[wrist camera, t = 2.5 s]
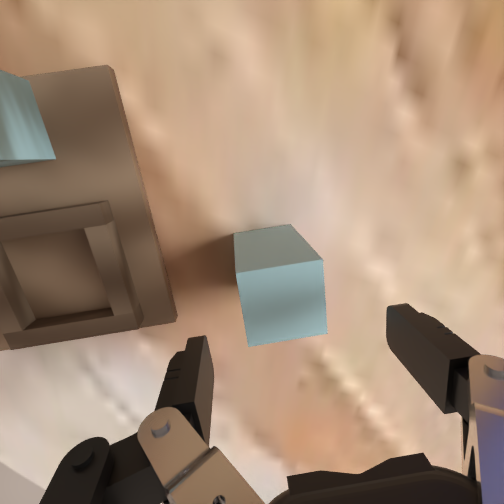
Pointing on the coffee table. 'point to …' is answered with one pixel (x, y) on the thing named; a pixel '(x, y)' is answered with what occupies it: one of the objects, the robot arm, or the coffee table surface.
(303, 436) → the coffee table surface
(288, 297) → the teal block
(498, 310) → the coffee table surface
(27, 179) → the walnut board
